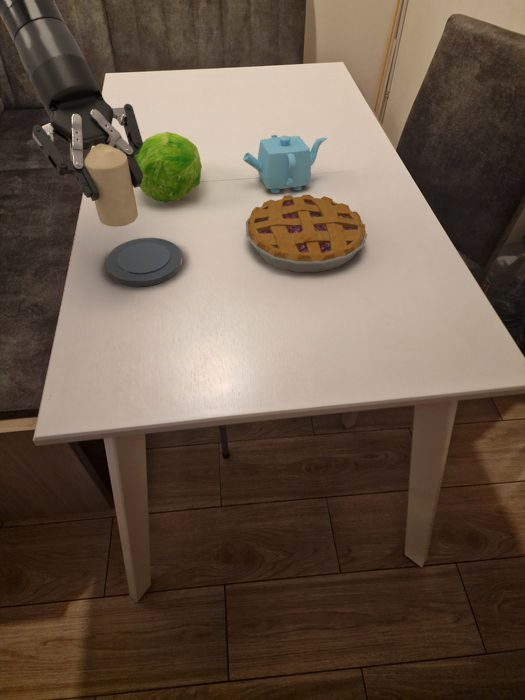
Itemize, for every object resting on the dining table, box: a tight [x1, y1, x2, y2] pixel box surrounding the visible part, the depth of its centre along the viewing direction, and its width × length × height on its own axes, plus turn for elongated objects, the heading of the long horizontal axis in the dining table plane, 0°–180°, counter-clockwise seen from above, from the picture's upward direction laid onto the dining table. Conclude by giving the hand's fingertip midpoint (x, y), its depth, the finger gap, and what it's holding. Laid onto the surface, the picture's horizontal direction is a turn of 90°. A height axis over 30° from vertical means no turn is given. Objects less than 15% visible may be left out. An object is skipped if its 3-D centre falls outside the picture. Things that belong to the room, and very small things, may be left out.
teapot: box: [242, 134, 328, 194], centre depth 103 cm, size 18×14×10 cm
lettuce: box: [134, 131, 203, 204], centre depth 100 cm, size 14×20×12 cm
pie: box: [245, 194, 368, 273], centre depth 88 cm, size 22×22×5 cm
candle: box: [83, 144, 139, 228], centre depth 66 cm, size 6×6×10 cm
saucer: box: [105, 237, 183, 288], centre depth 84 cm, size 13×13×1 cm
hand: (117, 191), depth 65 cm, fingers closed on candle, 5 cm apart
